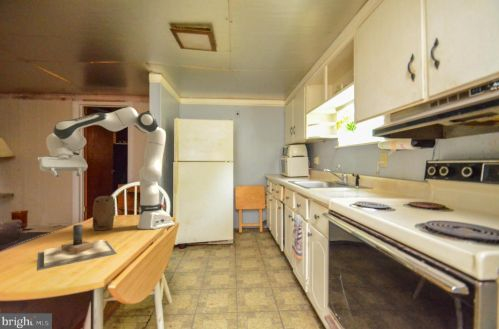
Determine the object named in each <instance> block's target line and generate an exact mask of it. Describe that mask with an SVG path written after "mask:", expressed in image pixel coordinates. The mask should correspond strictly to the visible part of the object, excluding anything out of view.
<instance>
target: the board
mask: <svg viewBox="0 0 499 329" xmlns="http://www.w3.org/2000/svg"><path fill="white" fill-rule="evenodd" d="M104 241H105V240H104V239H100V240H94V241H91V242H92V243H94V249H91V250H88V251H85V252H82V253H78V254H75V253H70V252H65V251H61V246H58V247H51V248H45V249H44V250H43V252H44V267H48V266H52V265H57V264H62V263H67V262H72V261H77V260H82V259H87V258H92V257H97V256H101V255H106V254H111V250H110V248H109V247H108V246H107V244H106V243H105V242H104Z"/></svg>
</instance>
